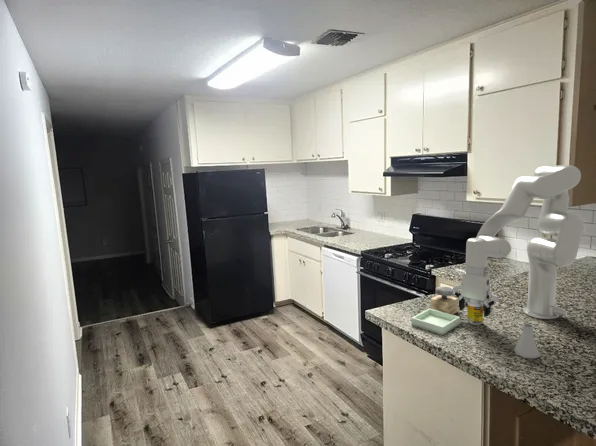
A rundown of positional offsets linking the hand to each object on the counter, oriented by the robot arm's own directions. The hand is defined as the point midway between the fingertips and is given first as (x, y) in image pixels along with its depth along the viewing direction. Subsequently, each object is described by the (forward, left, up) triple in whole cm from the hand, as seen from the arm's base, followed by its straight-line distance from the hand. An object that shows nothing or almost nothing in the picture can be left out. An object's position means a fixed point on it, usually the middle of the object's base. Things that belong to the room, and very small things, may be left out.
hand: (473, 312), depth 152 cm
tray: (+10, +12, -4) cm, 16 cm away
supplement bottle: (0, 0, -5) cm, 4 cm away
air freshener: (+9, -20, -5) cm, 23 cm away
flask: (-23, +13, -5) cm, 27 cm away
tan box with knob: (+14, -2, -4) cm, 15 cm away
